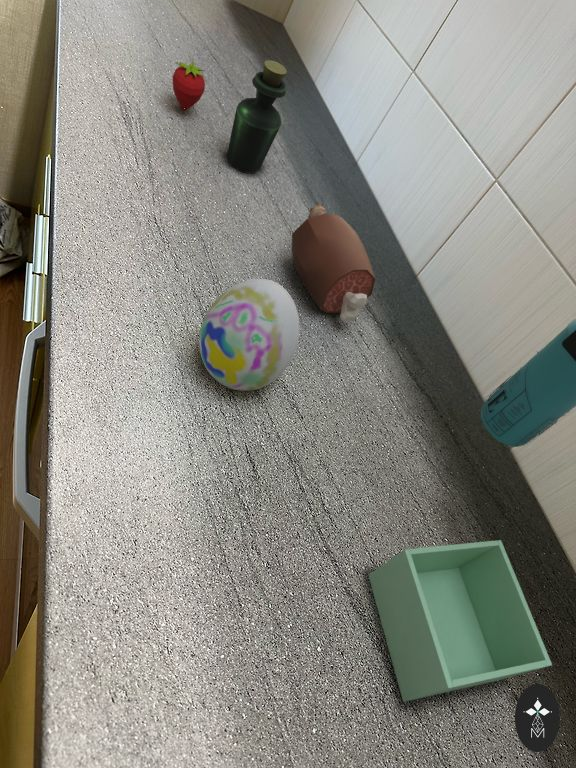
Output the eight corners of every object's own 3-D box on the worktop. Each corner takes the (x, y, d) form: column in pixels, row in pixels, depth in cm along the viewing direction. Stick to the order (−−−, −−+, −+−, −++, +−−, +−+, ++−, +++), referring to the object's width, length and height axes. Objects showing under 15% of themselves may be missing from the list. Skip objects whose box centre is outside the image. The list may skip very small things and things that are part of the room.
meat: (372, 332, 91) (404, 288, 84) (310, 335, 86) (338, 288, 78) (326, 243, 101) (351, 196, 93) (268, 241, 95) (289, 191, 87)
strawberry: (169, 118, 105) (180, 65, 98) (165, 95, 109) (175, 42, 102) (200, 125, 108) (213, 73, 100) (195, 102, 112) (207, 51, 104)
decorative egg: (171, 353, 75) (198, 272, 63) (235, 318, 82) (269, 239, 71) (235, 419, 72) (275, 346, 61) (295, 376, 80) (340, 304, 69)
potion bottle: (264, 156, 109) (298, 64, 96) (264, 181, 105) (300, 88, 91) (222, 143, 107) (251, 46, 94) (221, 168, 102) (251, 70, 89)
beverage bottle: (526, 461, 63) (684, 349, 48) (474, 449, 61) (621, 328, 46) (513, 412, 67) (655, 294, 52) (464, 399, 65) (596, 274, 50)
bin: (458, 564, 72) (501, 539, 65) (500, 679, 65) (552, 665, 58) (368, 574, 66) (404, 549, 60) (402, 702, 59) (448, 688, 53)
